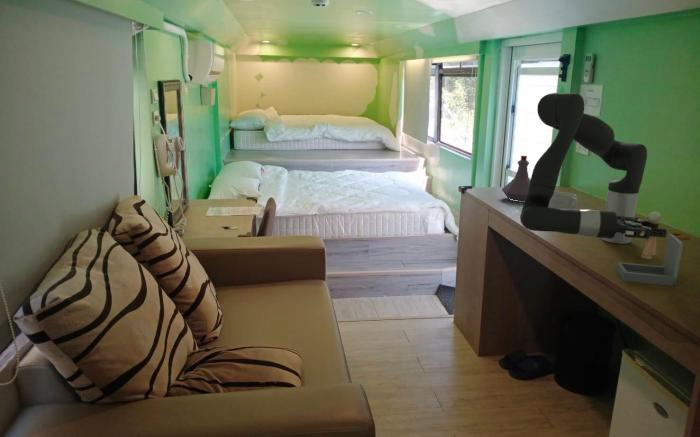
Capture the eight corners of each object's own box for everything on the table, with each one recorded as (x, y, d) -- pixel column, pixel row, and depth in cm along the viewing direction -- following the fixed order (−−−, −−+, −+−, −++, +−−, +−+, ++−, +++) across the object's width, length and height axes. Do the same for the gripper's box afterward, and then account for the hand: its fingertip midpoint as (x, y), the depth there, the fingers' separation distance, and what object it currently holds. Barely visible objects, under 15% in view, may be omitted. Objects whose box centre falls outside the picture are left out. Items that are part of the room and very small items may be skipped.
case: (615, 270, 153) (622, 230, 150) (665, 274, 150) (672, 234, 147) (623, 280, 145) (629, 239, 141) (675, 286, 141) (683, 243, 138)
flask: (501, 194, 249) (505, 152, 243) (538, 197, 244) (543, 154, 238) (499, 202, 234) (503, 157, 228) (538, 205, 229) (544, 159, 223)
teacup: (541, 209, 223) (543, 190, 221) (564, 208, 225) (567, 190, 223) (559, 217, 210) (562, 198, 207) (584, 216, 211) (587, 197, 209)
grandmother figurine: (657, 261, 141) (666, 215, 138) (640, 259, 143) (649, 213, 139) (653, 253, 148) (662, 209, 145) (638, 251, 150) (646, 207, 146)
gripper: (602, 216, 139) (673, 222, 135) (593, 204, 152) (656, 210, 149) (598, 244, 141) (667, 250, 137) (589, 229, 154) (651, 235, 151)
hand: (661, 229), depth 143 cm, fingers closed on grandmother figurine, 6 cm apart
